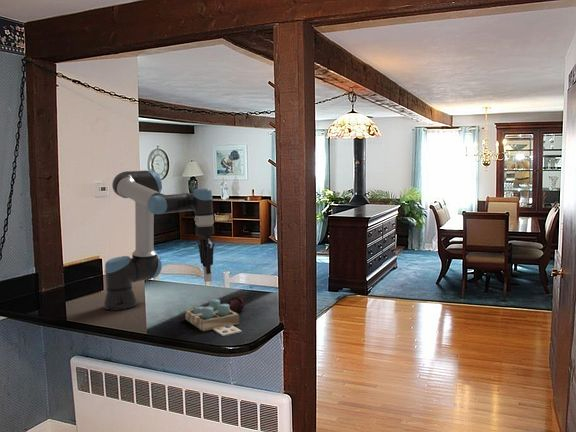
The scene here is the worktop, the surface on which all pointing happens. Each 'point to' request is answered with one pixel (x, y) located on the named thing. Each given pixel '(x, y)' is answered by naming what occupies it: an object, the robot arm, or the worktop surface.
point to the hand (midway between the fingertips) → (207, 281)
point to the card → (226, 330)
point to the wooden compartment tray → (211, 320)
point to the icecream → (237, 303)
